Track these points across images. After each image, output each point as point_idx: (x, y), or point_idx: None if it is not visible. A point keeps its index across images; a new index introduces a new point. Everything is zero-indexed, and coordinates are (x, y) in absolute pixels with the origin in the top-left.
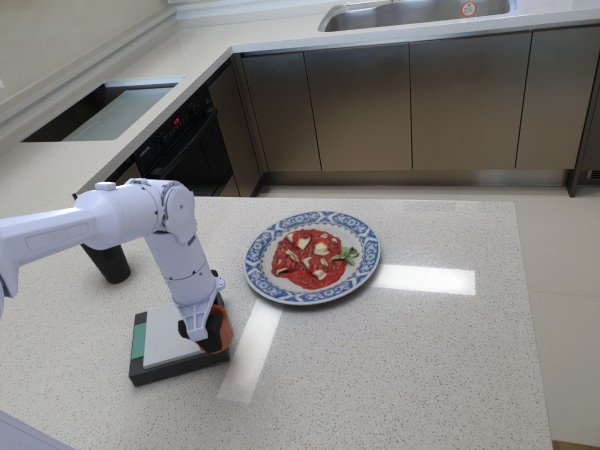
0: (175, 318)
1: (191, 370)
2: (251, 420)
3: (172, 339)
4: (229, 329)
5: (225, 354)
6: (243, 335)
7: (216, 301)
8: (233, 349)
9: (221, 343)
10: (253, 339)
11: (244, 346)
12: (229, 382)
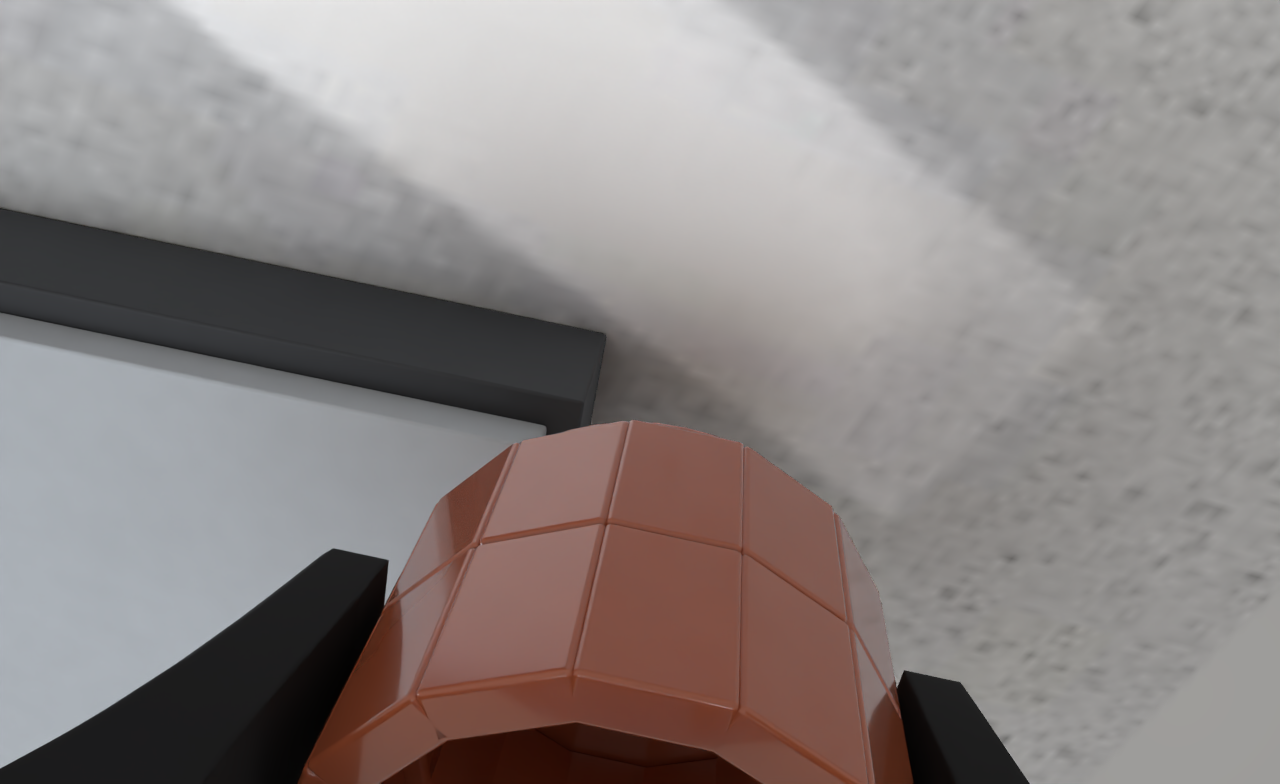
0: (40, 696)
1: None
2: (1265, 354)
3: None
4: (783, 573)
5: (592, 389)
6: (382, 138)
7: (248, 736)
8: (501, 271)
9: (1010, 758)
10: (474, 63)
11: (516, 171)
12: (816, 399)
